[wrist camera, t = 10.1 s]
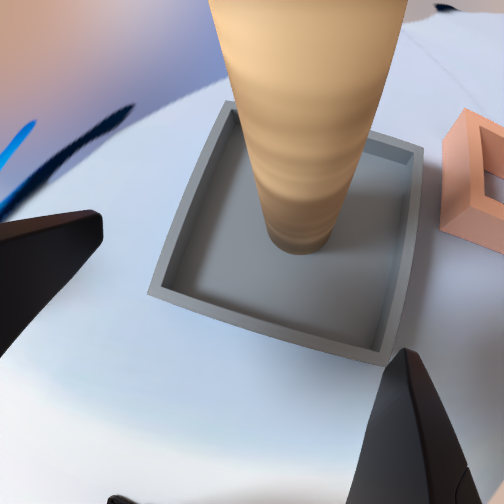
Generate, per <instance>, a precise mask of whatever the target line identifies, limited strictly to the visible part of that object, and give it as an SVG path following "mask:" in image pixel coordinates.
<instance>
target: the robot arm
mask: <svg viewBox="0 0 504 504" xmlns="http://www.w3.org/2000/svg"><path fill="white" fill-rule="evenodd" d="M102 241H103V219H102V215H101V214H100V213H98V212H96V211H94V210H83V211H75V212H68V213H61V214H54V215H47V216H41V217H34V218H28V219H22V220H16V221H11V222H5V223H0V358H1V357H2V355H3V354H4V353H5V352H6V351H7V349H8V348H9V347H10V346H11V345H12V343H13V342H14V341H15V340H16V339H17V337H18V336H19V335H20V334H21V333H22V332H23V330H24V329H25V328H26V327H27V326H28V325H29V324H30V322H31V321H32V320H33V319H34V318H35V317H36V316H37V315H38V314H39V312H40V311H41V310H42V309H43V308H44V307H45V306H46V305H47V304H48V303H49V302H50V301H51V299H52V298H53V297H54V296H55V295H56V294H57V293H58V292H59V291H60V290H61V289H62V288H63V287H64V286H65V285H66V284H67V283H68V282H69V281H70V280H71V279H72V278H73V276H74V275H75V274H76V273H77V272H78V271H79V269H80V268H81V267H82V266H83V265H84V263H85V262H86V261H87V260H88V259H89V257H90V256H91V255H92V254H93V253H94V252H95V251H96V249H97V248H98V247H99V246H100V245H101V243H102ZM114 501H115V502H116V503H115V502H114ZM107 504H130V503H129V502H127V501H125V500H123V499H121V498H119V497H118V496H115V495H112V496H110V497H109V498H108V501H107ZM346 504H482V502H481V500H480V497H479V494H478V492H477V489H476V486H475V483H474V481H473V478H472V475H471V472H470V470H469V467H467V462H466V459H465V456H464V454H463V451H462V449H461V446H460V444H459V441H458V439H457V436H456V434H455V431H454V429H453V427H452V424H451V422H450V420H449V417H448V415H447V413H446V411H445V408H444V406H443V404H442V402H441V400H440V397H439V395H438V393H437V391H436V389H435V387H434V385H433V383H432V380H431V378H430V376H429V374H428V372H427V370H426V368H425V366H424V364H423V362H422V360H421V358H420V356H419V355H418V353H417V352H415V351H413V350H410V349H408V348H402V349H401V350H400V351H399V352H398V353H397V355H396V356H395V357H394V358H393V360H392V361H391V362H390V363H389V364H388V366H387V367H386V368H385V370H384V372H383V375H382V379H381V382H380V386H379V389H378V392H377V396H376V399H375V402H374V405H373V409H372V412H371V415H370V418H369V421H368V424H367V428H366V432H365V436H364V440H363V445H362V449H361V453H360V457H359V460H358V464H357V468H356V471H355V475H354V478H353V482H352V485H351V488H350V492H349V495H348V498H347V501H346Z"/></svg>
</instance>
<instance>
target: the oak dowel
mask: <svg viewBox="0 0 504 504" xmlns="http://www.w3.org/2000/svg"><path fill="white" fill-rule="evenodd" d="M407 1H408V0H208V2H209V5H210V9H211V12H212V16H213V20H214V23H215V27H216V31H217V34H218V38H219V42H220V45H221V49H222V53H223V57H224V60H225V64H226V68H227V71H228V76H229V79H230V83H231V87H232V91H233V95H234V99H235V103H236V106H237V110H238V114H239V118H240V122H241V126H242V130H243V134H244V138H245V142H246V146H247V150H248V154H249V158H250V162H251V166H252V170H253V174H254V178H255V182H256V187H257V191H258V195H259V199H260V203H261V207H262V212H263V216H264V220H265V224H266V228H267V232H268V235H269V237H270V239H271V241H272V242H273V243H274V244H275V245H276V246H277V247H278V248H279V249H281V250H282V251H284V252H286V253H289V254H293V255H307V254H311V253H313V252H315V251H317V250H319V249H320V248H321V247H322V246H323V245H324V244H325V243H326V242H327V240H328V239H329V237H330V234H331V232H332V230H333V227H334V225H335V222H336V220H337V217H338V215H339V212H340V210H341V207H342V205H343V202H344V199H345V197H346V194H347V192H348V189H349V186H350V184H351V181H352V179H353V176H354V173H355V170H356V168H357V165H358V162H359V160H360V157H361V154H362V151H363V148H364V146H365V143H366V140H367V137H368V134H369V131H370V128H371V125H372V122H373V119H374V116H375V113H376V110H377V107H378V104H379V101H380V98H381V95H382V92H383V88H384V85H385V82H386V79H387V75H388V72H389V69H390V65H391V62H392V58H393V55H394V51H395V48H396V44H397V41H398V37H399V33H400V29H401V26H402V22H403V18H404V14H405V10H406V5H407Z"/></svg>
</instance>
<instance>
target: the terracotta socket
mask: <svg viewBox="0 0 504 504" xmlns="http://www.w3.org/2000/svg"><path fill="white" fill-rule="evenodd" d="M442 148H443V167H442V196H441V212H440V224H439V230H440V231H443V232H446V233H449V234H451V235H454V236H457V237H460V238H462V239H465V240H468V241H470V242H473V243H476V244H478V245H481V246H483V247H486V248H488V249H491V250H494V251H496V252H498V253H501V254H503V255H504V204H502V203H500V202H498V201H496V200H494V199H492V198H490V197H487V196H485V191H484V170H486V171H488V172H490V173H492V174H494V175H496V176H498V177H500V178H502V179H504V127H502V126H500V125H498V124H496V123H494V122H492V121H491V120H489V119H487V118H485V117H483V116H481V115H479V114H476V113H474V112H472V111H470V110H468V109H466V108H464V110H463V111H462V113H461V114H460V116H459V117H458V119H457V120H456V122H455V123H454V125H453V126H452V128H451V129H450V131H449V132H448V134H447V135H446V136H445V138H444V139H443V141H442Z"/></svg>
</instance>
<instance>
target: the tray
mask: <svg viewBox="0 0 504 504" xmlns="http://www.w3.org/2000/svg"><path fill="white" fill-rule="evenodd" d="M423 154H424V148H423V147H420V146H417V145H414V144H411V143H409V142H406V141H403V140H400V139H397V138H394V137H390V136H387V135H384V134H381V133H378V132H374V131H371V130H370V131H369V134H368V137H367V140H366V143H365V146H364V148H363V151H362V154H361V157H360V160H359V162H358V165H357V168H356V170H355V173H354V176H353V179H352V181H351V184H350V186H349V189H348V192H347V194H346V197H345V199H344V202H343V205H342V207H341V210H340V212H339V215H338V217H337V220H336V222H335V225H334V227H333V230H332V232H331V234H330V237H329V239H328V240H327V242H326V243H325V244H324V245H323V246H322V247H321V248H320V249H319V250H317V251H315V252H313V253H311V254H307V255H293V254H289V253H286V252H284V251H282V250H281V249H279V248H278V247H277V246H276V245H275V244H274V243H273V242H272V241H271V239H270V237H269V235H268V232H267V228H266V224H265V220H264V216H263V212H262V207H261V203H260V199H259V195H258V191H257V187H256V182H255V178H254V174H253V170H252V166H251V162H250V158H249V154H248V150H247V146H246V142H245V138H244V134H243V130H242V126H241V122H240V118H239V114H238V110H237V106H236V103H235V102H233V101H225V103H224V105H223V107H222V109H221V111H220V113H219V115H218V117H217V119H216V121H215V123H214V126H213V128H212V130H211V132H210V134H209V136H208V139H207V141H206V143H205V145H204V147H203V150H202V152H201V154H200V156H199V159H198V161H197V163H196V166H195V168H194V170H193V173H192V175H191V177H190V180H189V182H188V184H187V187H186V189H185V192H184V194H183V197H182V199H181V202H180V204H179V207H178V209H177V212H176V214H175V217H174V219H173V222H172V224H171V227H170V230H169V232H168V235H167V238H166V240H165V243H164V246H163V248H162V251H161V254H160V257H159V260H158V262H157V265H156V268H155V271H154V274H153V277H152V280H151V283H150V286H149V289H148V292H147V294H148V295H150V296H153V297H155V298H158V299H161V300H163V301H166V302H169V303H171V304H174V305H177V306H179V307H182V308H185V309H188V310H191V311H193V312H196V313H199V314H202V315H205V316H208V317H210V318H213V319H216V320H219V321H222V322H225V323H228V324H231V325H234V326H237V327H241V328H244V329H247V330H250V331H253V332H256V333H259V334H263V335H266V336H269V337H273V338H276V339H279V340H283V341H286V342H290V343H293V344H296V345H300V346H304V347H307V348H311V349H314V350H318V351H322V352H326V353H329V354H333V355H337V356H341V357H345V358H349V359H353V360H357V361H361V362H365V363H370V364H374V365H378V366H383V367H387V366H388V363H389V359H390V356H391V353H392V349H393V345H394V342H395V338H396V334H397V331H398V327H399V323H400V319H401V315H402V310H403V306H404V301H405V297H406V292H407V287H408V282H409V277H410V272H411V266H412V260H413V254H414V248H415V241H416V234H417V227H418V219H419V210H420V200H421V188H422V174H423Z"/></svg>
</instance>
